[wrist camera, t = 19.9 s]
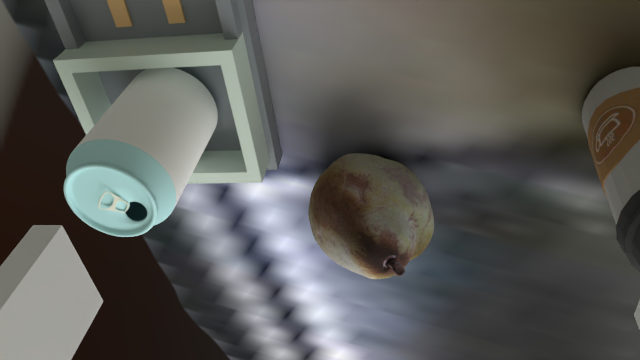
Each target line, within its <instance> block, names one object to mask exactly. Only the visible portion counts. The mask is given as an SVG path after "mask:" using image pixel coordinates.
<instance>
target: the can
mask: <svg viewBox="0 0 640 360" xmlns="http://www.w3.org/2000/svg"><path fill="white" fill-rule="evenodd" d="M217 121H218V112H217V107H216V104H215V101H214V99H213V97H212V95H211V94H210V92H209V91H208V89H207V88H206V87H205V86H204V85H203V84H202V83H201V82H200V81H199V80H198V79H196V78H195V77H193V76H192V75H190V74H188V73H186V72H184V71H182V70H179V69H176V68H156V69H146V70H144V71H142V72H141V73H139V74H138V75H137V76H136V77H135V78H134V79H133V80H132V82H131V83H130V84H129V85H128V86H127V88H126V89H125V90H124V91H123V92H122V93H121V95H120V96H119V97H118V98H117V99H116V101H115V102H114V103H113V104H112V105H111V107H110V108H109V109H108V110H107V111H106V112H105V114H104V115H103V116H102V117H101V118H100V120H99V121H98V122H97V123H96V124H95V126H94V127H93V128H92V129H91V130H90V131H89V133H88V134H87V135H86V136H85V137H84V139H83V140H82V141H81V142H80V143H79V145H78V146H77V147H76V148H75V149H74V150H73V152H72V153H71V155H70V156H69V159H68V162H67V167H66V175H67V177H66V179H65V182H64V194H65V197H66V200H67V202H68V204H69V206H70V207H71V209H72V210H73V212H74V213H75V214H76V215H77V216H78V217H79V218H80V219H81V220H82V221H84V222H85V223H86V224H88V225H89V226H91V227H93V228H95V229H97V230H99V231H101V232H104V233H106V234H110V235H114V236H120V237H132V236H138V235H141V234H143V233H145V232H147V231H148V230H150V229H151V228H152V226H154V225H157V224H159V223H161V222H162V221H164V220H165V219H166V218H167V217H168V216H169V215H170V214H171V213H172V211H173V210H174V208H175V206H176V204H177V202H178V200H179V198H180V196H181V194H182V192H183V190H184V188H185V186H186V184H187V182H188V181H189V179H190V177H191V175H192V173H193V171H194V169H195V167H196V165H197V163H198V161H199V159H200V157H201V155H202V153H203V151H204V150H205V148H206V146H207V144H208V142H209V140H210V138H211V136H212V134H213V132H214V130H215V128H216V125H217Z"/></svg>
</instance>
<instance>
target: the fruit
mask: <svg viewBox="0 0 640 360" xmlns="http://www.w3.org/2000/svg"><path fill="white" fill-rule="evenodd" d="M309 221H310V225H311V229H312V232H313V235H314V238H315V240H316V241H317V243H318V245H319V246H320V247H321V249H322V250H323V251H324V253H325V254H326V255H327V256H328V257H330V258H331V259H332V260H333V261H335V262H336V263H338V264H339V265H341V266H343V267H345V268H346V269H348V270H350V271H352V272H354V273H358V274H360V275H363V276H365V277H367V278H371V279H382V278H388V277H392V276H394V275H397V276H401V275H402V274H403V273H404V272H405V269H404V268H405V266H406V265H407V263H408V262H409V261H410V260H412V259H413V258H415V257H417V256H418V255H420V254H421V253H422V252H423V251H424V250H425V248H426V247H427V246H428V244H429V242H430V240H431V237H432V234H433V231H434V218H433V212H432V209H431V205H430V201H429V197H428V194H427V192H426V190H425V188H424V187H423V185H422V183H421V182H420V180H419V179H418V178H417V176H416V175H415V174H414V173H413V172H412V171H411V170H410V169H408V168H407V167H406V166H404V165H403V164H401V163H399V162H396V161H393V160H388V159H385V158H382V157H380V156H376V155H371V154H362V153H350V154H346V155H344V156H342V157H340V158H338V159H337V160H335V161H334V162H333V163H332V164H331V165H330V166H329V167H328V168H327V169H326V170H325V171H324V172H323V173H322V174H321V175H320V177H319V178H318V180H317V182H316V183H315V186H314V188H313V191H312V193H311V198H310V203H309Z"/></svg>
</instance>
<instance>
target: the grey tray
mask: <svg viewBox="0 0 640 360" xmlns="http://www.w3.org/2000/svg"><path fill="white" fill-rule="evenodd" d="M45 3H46V5H47V7H48V10H49V12H50V14H51V17H52V19H53V21H54V24H55V26H56V28H57V31H58V33H59V35H60V38H61V40H62V42H63V45H64V47H65V49H66V50H64V51H63V52H62V53H61V54H60V55H59V56H58V57H56V58H55V59H54V60H53V62H54V64H55V66H56V69H57V71H58V73H59V75H60V78H61V80H62V82H63V84H64V87H65V89H66V91H67V93H68V95H69V98H70V100H71V102H72V104H73V107H74V109H75V111H76V113H77V116H78V118H79V120H80V122H81V124H82V127H83V129H84V131H85V133H86V135H87V134H88V133H89V131H90V130H91V129H92V128H93V127H94V126H95V124H96V123H97V122H98V121H99V120H100V118H101V117H102V116H103V115H104V114H105V112H106V111H107V110H108V109H109V108H110V107H111V105H112V104H113V103H114V102H115V101H116V99H117V98H118V97H119V96H120V95H121V93H122V92H123V91H124V90H125V89H126V88H127V86H128V85H129V84H130V83H131V82H132V80H133V79H134V78H135V77H136V76H137V75H138V74H139V73H141V72H142V71H144V70H146V69H156V68H176V69H179V70H182V71H184V72H186V73H188V74H190V75H192V76H193V77H195V78H196V79H198V80H199V81H200V82H201V83H202V84H203V85H204V86H205V87H206V88H207V89H208V91H209V92H210V94H211V95H212V97H213V99H214V101H215V104H216V107H217V112H218V121H217V125H216V128H215V130H214V132H213V134H212V136H211V138H210V140H209V142H208V144H207V146H206V148H205V150H204V151H203V153H202V155H201V157H200V159H199V161H198V163H197V165H196V167H195V169H194V171H193V173H192V175H191V177H190V179H189V181H188V182H187V183H256V182H262V181H263V178H264V175H265V173H266V170H275V169H278V167H279V164H280V161H281V157H282V152H281V147H280V142H279V137H278V132H277V127H276V121H275V116H274V111H273V106H272V101H271V96H270V91H269V85H268V80H267V75H266V70H265V65H264V60H263V55H262V49H261V44H260V39H259V34H258V29H257V24H256V18H255V13H254V8H253V3H252V0H45Z"/></svg>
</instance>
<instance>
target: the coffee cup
mask: <svg viewBox="0 0 640 360" xmlns="http://www.w3.org/2000/svg"><path fill="white" fill-rule="evenodd" d="M582 122H583V125H584V128H585V131H586V134H587V137H588V142H589V148H590V151H591V154H592V157H593V160H594V163H595V166H596V170H597V173H598V176H599V179H600V182H601V185H602V188H603V190H604V192H605V194H606V196H607V198H608V201H609V204H610V207H611V211H612V214H613V217H614V220H615V223H616V232H617V240H618V242H619V244H620V246H621V248H622V250H623V252H624V253H625V254H626V255H627V257H628V259H629V261H630V263H631V265H632V266H633V267H635V268H636V269H637V270H638V271H639V272H640V67H629V68H624V69H620V70H618V71H615V72H613V73H611V74H609V75H607V76H606V77H604V78H603V79H602V80H600V81H599V82H598V83H597V84H596V85H595V86H594V87H593V88H592V89H591V91H590V92H589V94H588V96H587V98H586V100H585V102H584V105H583V109H582Z"/></svg>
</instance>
